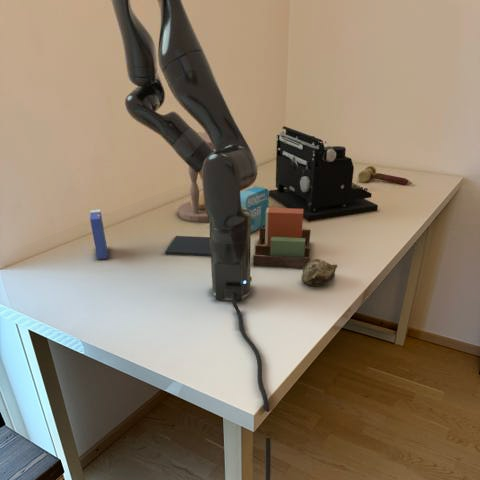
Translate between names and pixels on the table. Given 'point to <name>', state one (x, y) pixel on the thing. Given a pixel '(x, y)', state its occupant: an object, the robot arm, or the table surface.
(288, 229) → the book
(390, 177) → the gavel
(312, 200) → the typewriter
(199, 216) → the hourglass
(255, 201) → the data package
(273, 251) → the paperback
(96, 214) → the walkman
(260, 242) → the book rack
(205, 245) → the slate mat
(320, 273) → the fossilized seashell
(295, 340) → the table surface
